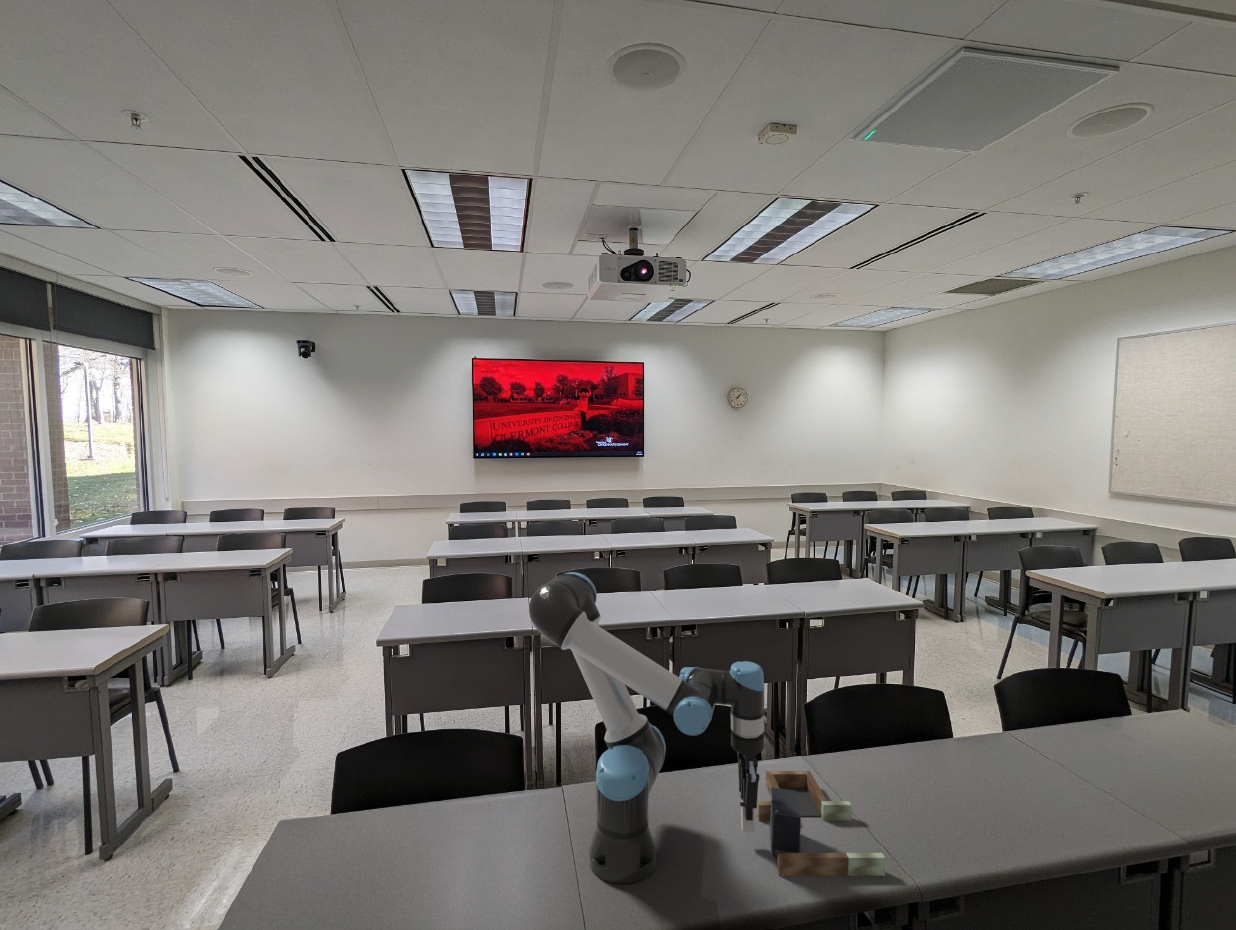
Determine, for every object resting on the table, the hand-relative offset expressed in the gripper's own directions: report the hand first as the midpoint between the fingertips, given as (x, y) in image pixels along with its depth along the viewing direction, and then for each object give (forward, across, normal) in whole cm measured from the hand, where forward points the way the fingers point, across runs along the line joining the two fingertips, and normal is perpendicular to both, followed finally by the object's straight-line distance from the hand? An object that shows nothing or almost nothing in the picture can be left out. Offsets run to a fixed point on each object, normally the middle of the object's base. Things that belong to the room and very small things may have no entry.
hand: (747, 829), depth 139 cm
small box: (+4, 0, -9) cm, 10 cm away
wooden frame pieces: (+4, +7, -16) cm, 18 cm away
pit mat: (+4, +16, -16) cm, 23 cm away
